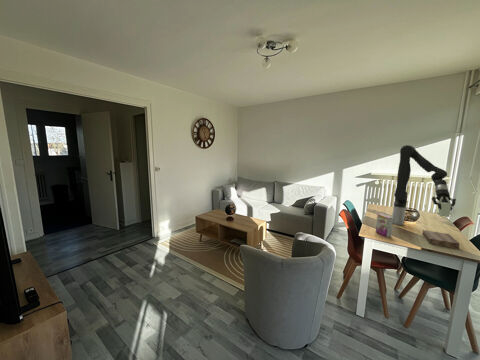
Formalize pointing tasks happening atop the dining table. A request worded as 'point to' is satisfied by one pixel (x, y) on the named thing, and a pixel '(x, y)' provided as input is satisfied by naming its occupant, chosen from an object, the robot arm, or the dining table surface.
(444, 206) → the sage-green block
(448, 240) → the walnut plinth
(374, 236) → the dining table surface
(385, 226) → the candy bar box
